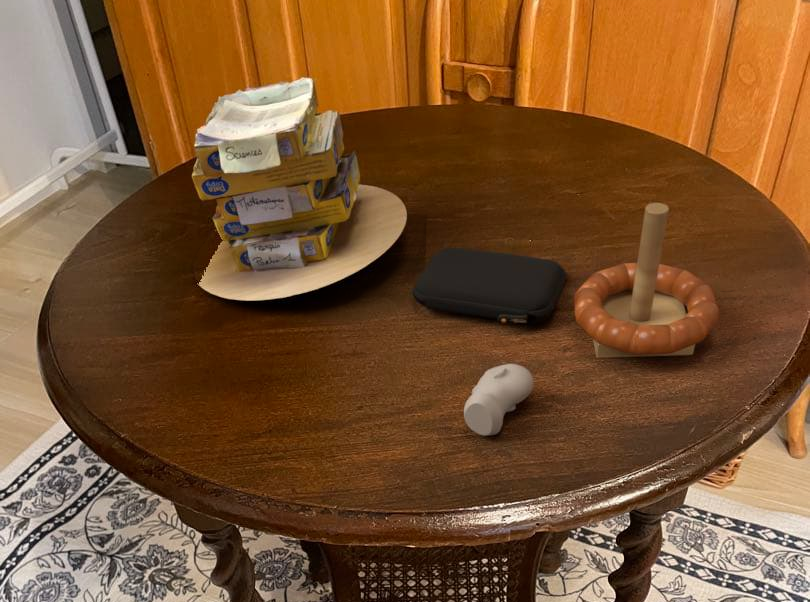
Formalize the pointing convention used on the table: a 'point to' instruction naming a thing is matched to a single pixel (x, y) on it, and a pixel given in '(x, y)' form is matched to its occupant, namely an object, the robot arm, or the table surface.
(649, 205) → the post
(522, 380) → the smooth white sculpture
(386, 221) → the stack of yellow boxes
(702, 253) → the table surface
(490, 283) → the carrying case
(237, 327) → the table surface
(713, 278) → the table surface
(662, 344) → the ring
